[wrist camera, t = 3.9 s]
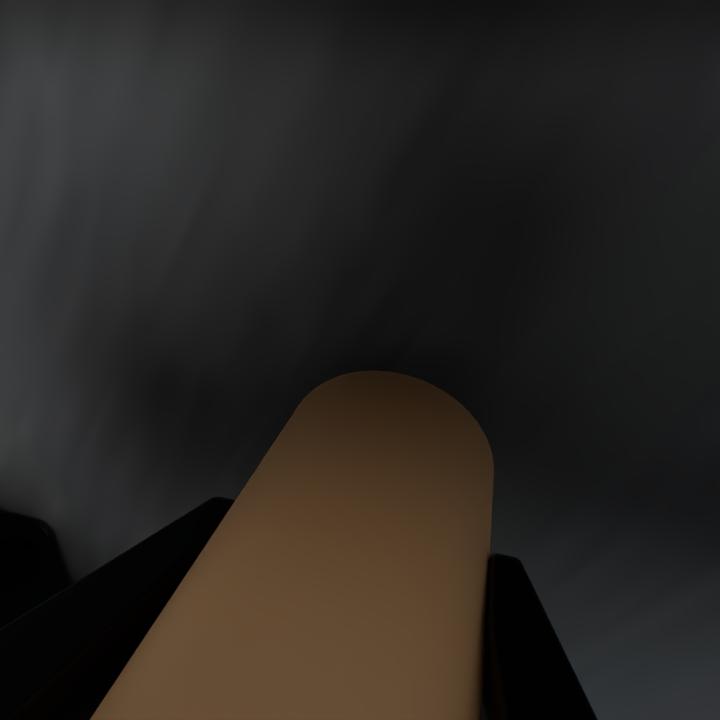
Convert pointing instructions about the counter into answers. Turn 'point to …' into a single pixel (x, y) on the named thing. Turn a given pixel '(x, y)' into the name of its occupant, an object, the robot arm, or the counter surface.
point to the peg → (336, 573)
